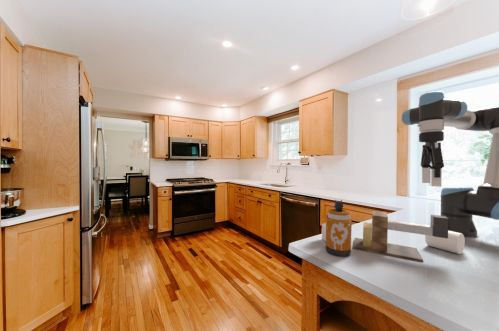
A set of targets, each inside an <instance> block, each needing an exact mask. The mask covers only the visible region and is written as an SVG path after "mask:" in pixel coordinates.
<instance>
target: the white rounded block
mask: <svg viewBox="0 0 499 331" xmlns="http://www.w3.org/2000/svg"><path fill="white" fill-rule="evenodd" d="M424 237H425V244H426V246H428V247H433V248H435V249H439V250H443V251H445V252H446V251H447V252H449V253H454V254H458V255H461V254H462V253H463V252H464V249H465V243H466V242H465V237H464V235H463V234H462V233H458V232H453V231H448V238H441V237H434V236H430V235H424Z"/></svg>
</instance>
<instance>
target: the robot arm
mask: <svg viewBox="0 0 499 331" xmlns="http://www.w3.org/2000/svg"><path fill="white" fill-rule="evenodd" d="M401 122H402V123H403V124H404V125H406V126H412V125H413V126H414V125H416V126H417V127H418V131H419V132H420V133H419V134H418V142H420V143H425V144H423V145H422V151H421V157H420V158H421V160H420V167H421V183H422V184H431V187H442V174H443V173H442V170H443V168H444V167H445V164H444V159H443V158H444V157H443V152H442V143H441V142H442V141H444V137H445V134H444V133H445V132H444V131H443V130H445V127H451V128H452V127H453V128H456V129H457V130H464V131H474V132H489V133H490V134H491V135H492V139H491V144H490V148H489V155H488V160H487V164H486V169H485V174H484V179H483V183H482V184H479V185H478V186H477V189H476V190H475V189H474V187H472V186H471V187H468V186H467V187H443V188H442V189H441V192H440V215H439V216H445V217H447V218H448V231H453V232H458V233H462V234H463V235H464V238H465V237H466V238H476V237H478V230H477V228H476V224H475V222H474V220H473V216H477V217H481V218H488V219H492V220H496V221H499V105H493V106H487V107H481V108H476V109H472V110H468V105H467V103H466V102H465V101H463V100H460V99H450V98H445V94H444V91H440V90H438V91H437V90H436V91H430V92H426V93H423V94H421V95H420V96H419V99H418V107H413V108H409V109H406V110H404V111H403V112H402V114H401Z"/></svg>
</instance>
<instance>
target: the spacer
mask: <svg viewBox="0 0 499 331" xmlns="http://www.w3.org/2000/svg"><path fill="white" fill-rule="evenodd" d="M362 227H363V228H362V239H363V247H368V248H371V247H372V222H366V221H365V222H363V226H362Z"/></svg>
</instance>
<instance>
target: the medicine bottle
mask: <svg viewBox="0 0 499 331" xmlns="http://www.w3.org/2000/svg"><path fill="white" fill-rule="evenodd" d="M327 217H328V213H327V214H326V218H327ZM321 240H322V241H325V242H326V222H325V223H322V224H321Z"/></svg>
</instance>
